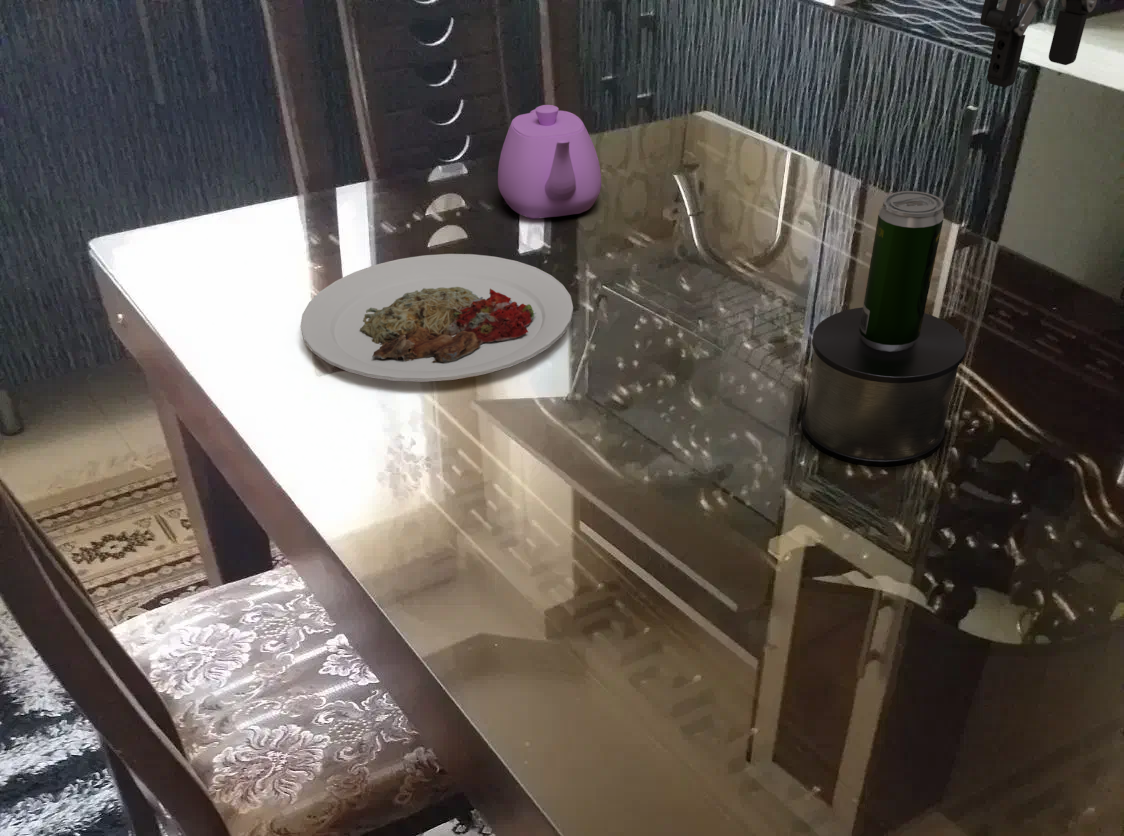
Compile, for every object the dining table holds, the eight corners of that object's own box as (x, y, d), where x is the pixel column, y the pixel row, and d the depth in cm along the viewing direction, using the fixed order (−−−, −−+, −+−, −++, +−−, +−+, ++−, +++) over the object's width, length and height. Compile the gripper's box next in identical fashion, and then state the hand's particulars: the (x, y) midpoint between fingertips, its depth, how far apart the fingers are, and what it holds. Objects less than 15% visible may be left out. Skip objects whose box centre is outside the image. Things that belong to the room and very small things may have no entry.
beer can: (871, 356, 102) (896, 218, 93) (848, 329, 106) (870, 193, 97) (928, 349, 103) (957, 211, 94) (903, 322, 106) (929, 187, 98)
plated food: (277, 299, 134) (271, 270, 132) (517, 251, 141) (516, 223, 139) (341, 420, 114) (336, 389, 112) (616, 358, 122) (616, 327, 119)
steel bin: (928, 391, 115) (947, 304, 109) (959, 466, 106) (982, 375, 99) (792, 394, 116) (803, 307, 109) (811, 468, 106) (824, 378, 100)
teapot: (488, 186, 156) (481, 91, 148) (583, 175, 158) (582, 80, 150) (517, 244, 143) (511, 143, 134) (620, 232, 144) (621, 131, 136)
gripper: (1078, -154, 79) (1017, 103, 91) (1189, -181, 85) (1119, 64, 97) (987, -166, 83) (940, 82, 95) (1099, -190, 89) (1042, 46, 101)
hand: (1030, 73), depth 96 cm, fingers open, 8 cm apart
